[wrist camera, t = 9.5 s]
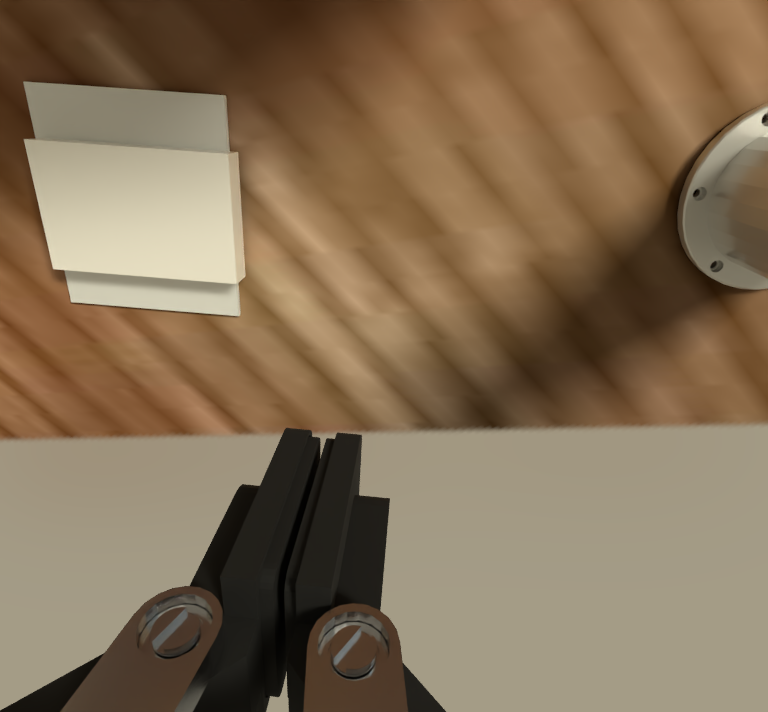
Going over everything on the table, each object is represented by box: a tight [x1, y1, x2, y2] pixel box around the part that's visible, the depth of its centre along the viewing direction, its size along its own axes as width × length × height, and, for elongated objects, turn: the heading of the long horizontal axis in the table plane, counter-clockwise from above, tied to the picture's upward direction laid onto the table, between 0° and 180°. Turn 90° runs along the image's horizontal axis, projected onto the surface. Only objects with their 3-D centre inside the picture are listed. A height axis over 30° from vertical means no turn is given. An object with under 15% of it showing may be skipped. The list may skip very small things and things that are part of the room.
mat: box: [23, 82, 241, 316], centre depth 38 cm, size 14×16×1 cm
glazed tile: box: [24, 138, 245, 284], centre depth 37 cm, size 2×9×14 cm
